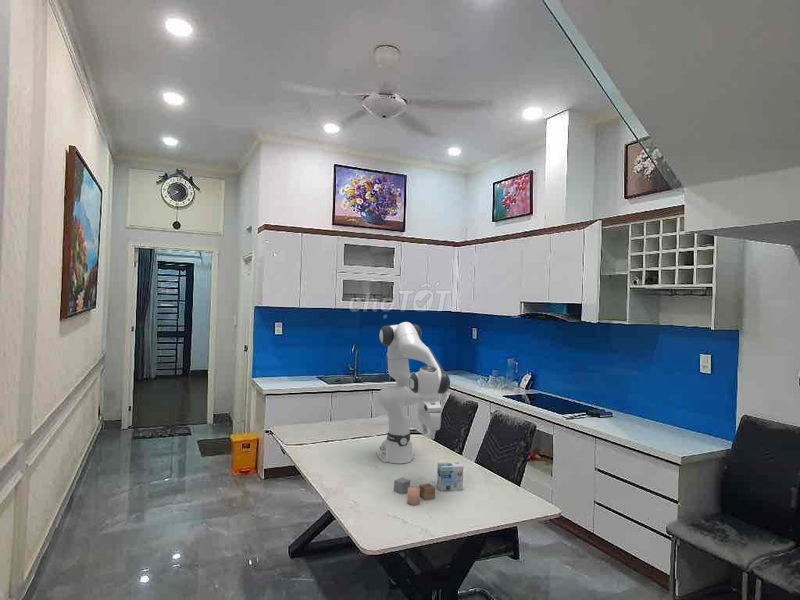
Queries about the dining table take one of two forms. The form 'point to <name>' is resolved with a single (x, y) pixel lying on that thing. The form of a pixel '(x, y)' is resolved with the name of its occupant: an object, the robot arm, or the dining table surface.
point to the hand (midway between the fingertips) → (428, 436)
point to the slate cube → (401, 485)
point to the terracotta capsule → (413, 495)
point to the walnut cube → (427, 491)
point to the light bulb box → (450, 476)
